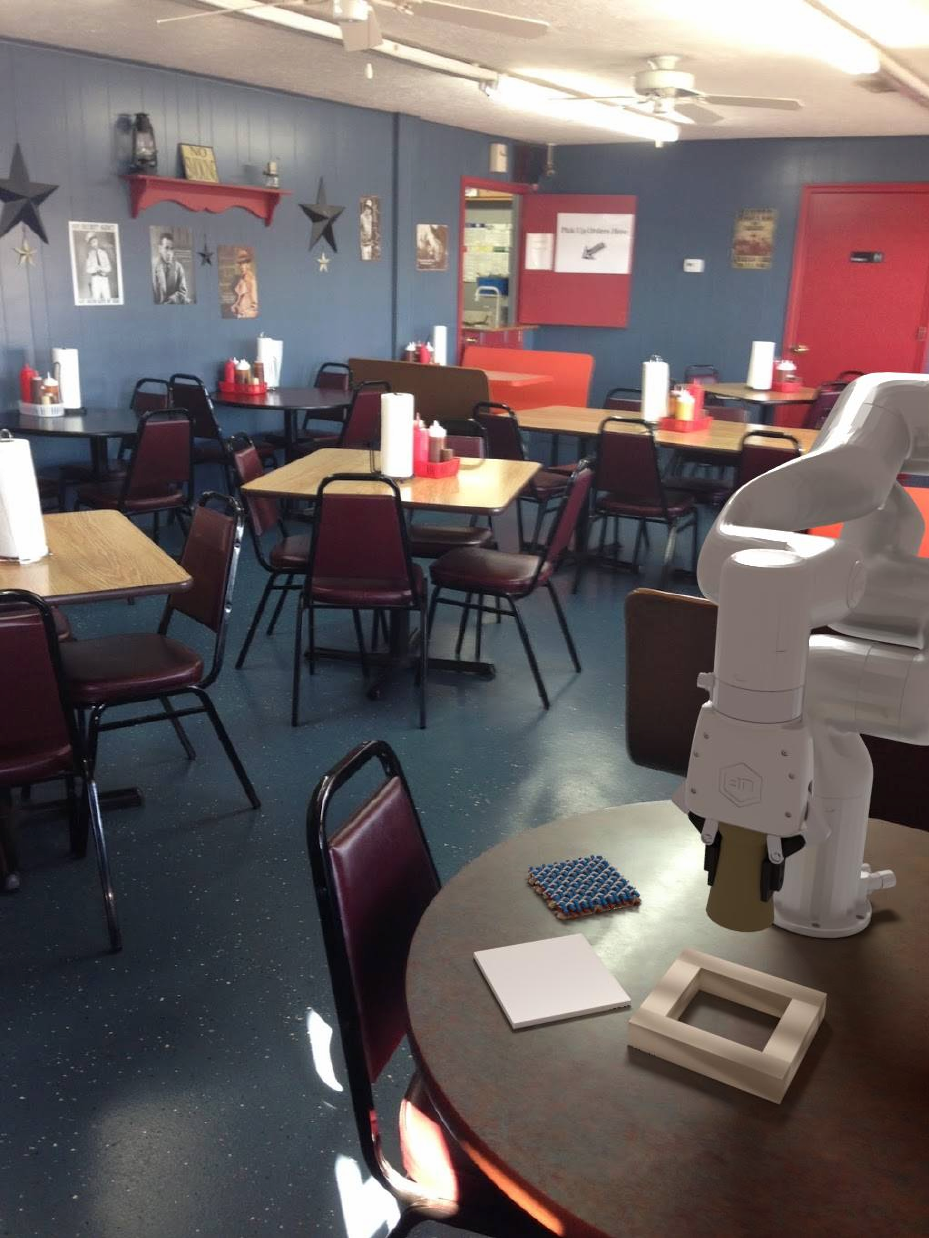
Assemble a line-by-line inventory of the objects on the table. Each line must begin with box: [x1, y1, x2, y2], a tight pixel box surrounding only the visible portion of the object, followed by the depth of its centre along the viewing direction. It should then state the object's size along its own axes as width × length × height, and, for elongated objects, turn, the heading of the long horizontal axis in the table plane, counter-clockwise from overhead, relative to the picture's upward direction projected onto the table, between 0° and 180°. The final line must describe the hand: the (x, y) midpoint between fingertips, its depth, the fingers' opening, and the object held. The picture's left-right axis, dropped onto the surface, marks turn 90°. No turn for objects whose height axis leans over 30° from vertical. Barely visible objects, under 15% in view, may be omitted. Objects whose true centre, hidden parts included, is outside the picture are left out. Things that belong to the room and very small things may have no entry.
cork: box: [705, 822, 775, 933], centre depth 96 cm, size 6×6×11 cm
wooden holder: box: [626, 947, 828, 1105], centre depth 100 cm, size 14×14×2 cm
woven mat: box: [524, 854, 643, 920], centre depth 124 cm, size 10×11×2 cm
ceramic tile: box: [473, 932, 632, 1030], centre depth 108 cm, size 12×12×1 cm
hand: (742, 885), depth 97 cm, fingers closed on cork, 4 cm apart
